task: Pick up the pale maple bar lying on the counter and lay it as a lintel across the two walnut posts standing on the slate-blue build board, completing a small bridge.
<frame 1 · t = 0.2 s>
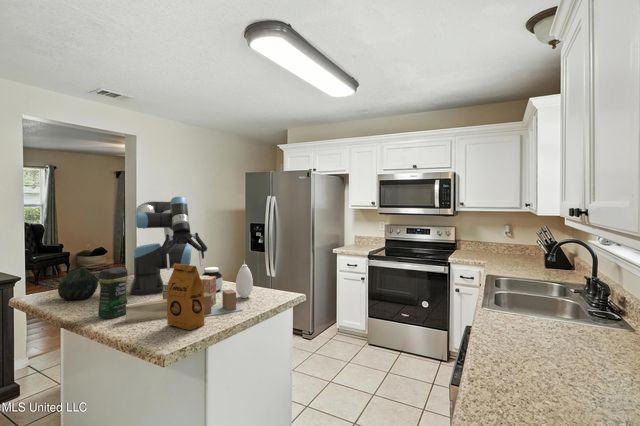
hand: (185, 266, 147), 16 cm above the countertop, tool tilted 35°, fingers open, 13 cm apart
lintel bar: (153, 317, 128), on the countertop
stack of blocks: (189, 305, 144), on the countertop
sauce bottle: (244, 298, 156), on the countertop
coffee jar: (113, 315, 129), on the countertop
coffee package: (186, 326, 119), on the countertop
squash: (78, 298, 153), on the countertop
spread jar: (211, 292, 164), on the countertop
build board: (217, 310, 136), on the countertop
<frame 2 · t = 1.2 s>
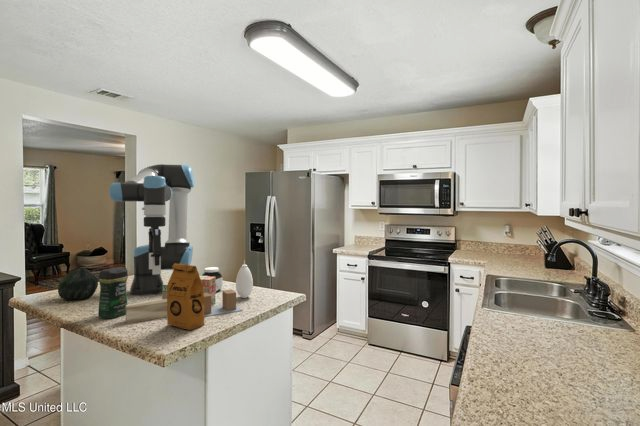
hand: (154, 271, 128), 17 cm above the countertop, tool pointing down, fingers open, 13 cm apart
nothing on the countertop moved.
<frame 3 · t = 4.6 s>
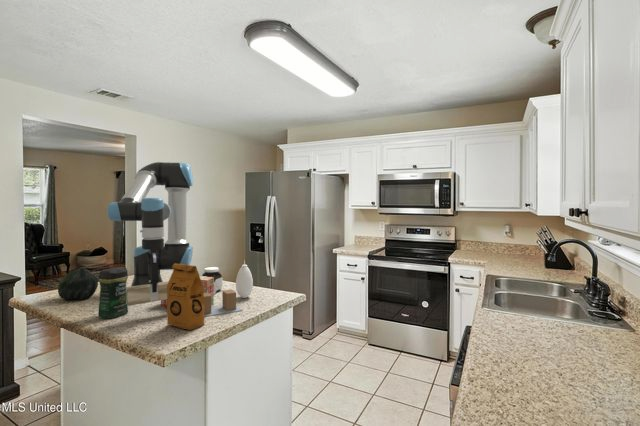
hand: (153, 298, 128), 7 cm above the countertop, tool pointing down, fingers closed on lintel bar, 4 cm apart
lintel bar: (153, 299, 128), point 6 cm above the countertop, touching gripper
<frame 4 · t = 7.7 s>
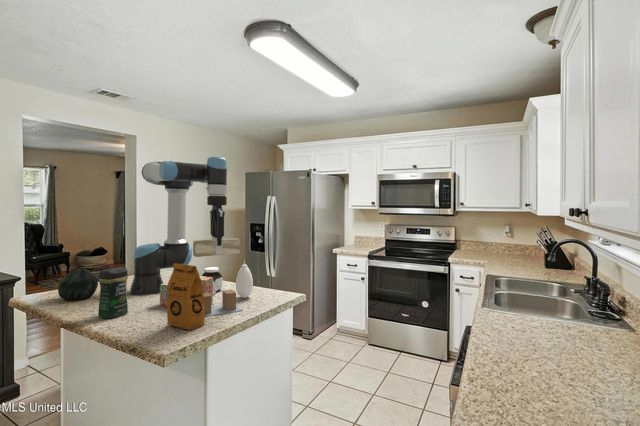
hand: (217, 252, 135), 24 cm above the countertop, tool pointing down, fingers closed on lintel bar, 4 cm apart
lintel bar: (217, 254, 135), point 23 cm above the countertop, touching gripper
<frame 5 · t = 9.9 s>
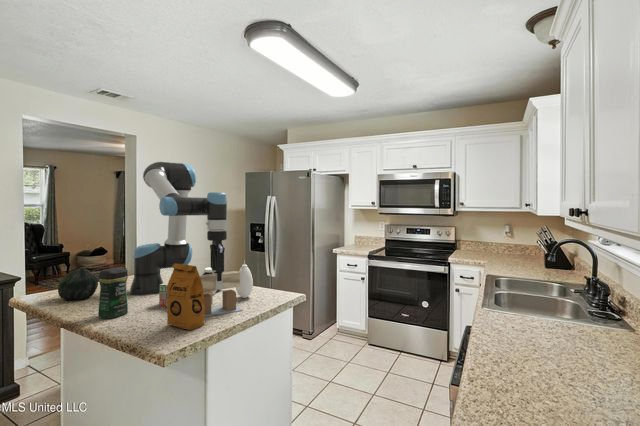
hand: (217, 287, 135), 10 cm above the countertop, tool pointing down, fingers closed on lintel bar, 4 cm apart
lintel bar: (217, 288, 135), point 9 cm above the countertop, touching gripper
when the fingers open (7 cm above the countertop, at t = 10.9 s): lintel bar stays where it is, resting on build board.
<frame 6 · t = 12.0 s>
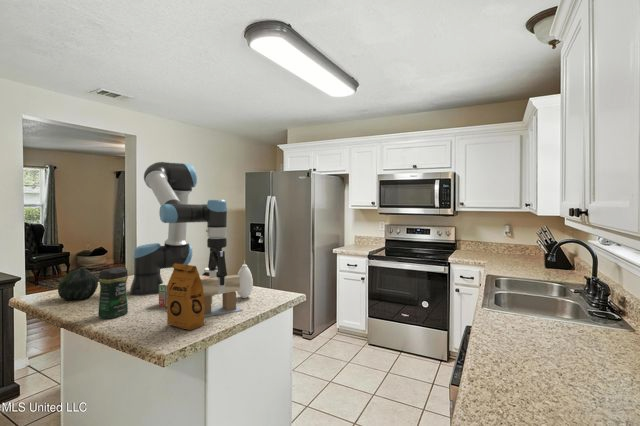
hand: (217, 289, 136), 9 cm above the countertop, tool pointing down, fingers open, 13 cm apart
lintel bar: (217, 293, 136), point 7 cm above the countertop, touching build board
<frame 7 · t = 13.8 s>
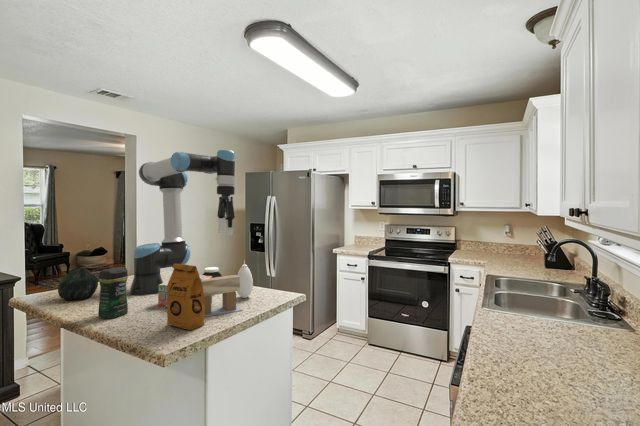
hand: (225, 233, 147), 31 cm above the countertop, tool pointing down, fingers open, 13 cm apart
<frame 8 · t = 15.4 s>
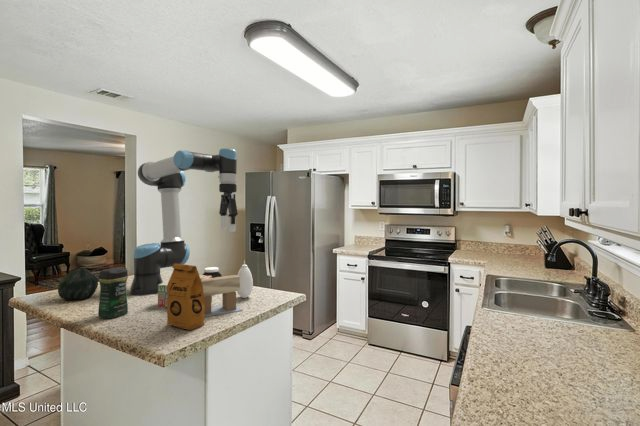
hand: (227, 230, 150), 32 cm above the countertop, tool pointing down, fingers open, 13 cm apart
at the end: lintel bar inside the target area (0.1 cm from its centre), point 7.3 cm above the countertop; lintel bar tilted 0°; the gripper is holding nothing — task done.
